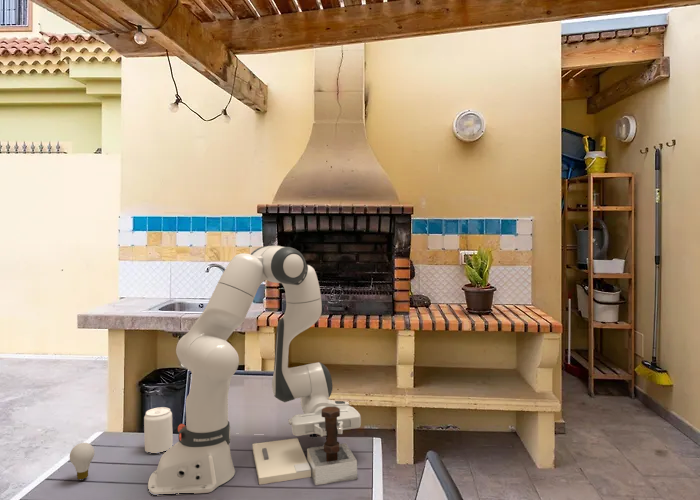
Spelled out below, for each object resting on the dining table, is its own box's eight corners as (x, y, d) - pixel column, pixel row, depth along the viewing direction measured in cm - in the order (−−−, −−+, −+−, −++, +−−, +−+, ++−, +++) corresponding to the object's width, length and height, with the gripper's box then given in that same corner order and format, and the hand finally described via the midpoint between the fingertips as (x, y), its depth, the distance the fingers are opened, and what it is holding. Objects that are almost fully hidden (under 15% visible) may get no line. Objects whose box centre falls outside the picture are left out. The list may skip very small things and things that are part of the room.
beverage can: (142, 456, 144) (142, 417, 144) (146, 445, 152) (145, 408, 152) (171, 453, 146) (170, 414, 146) (173, 442, 154) (173, 405, 154)
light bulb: (99, 477, 132) (98, 441, 132) (78, 487, 127) (77, 450, 126) (87, 472, 135) (86, 437, 135) (65, 481, 130) (64, 445, 129)
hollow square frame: (315, 485, 126) (315, 466, 126) (307, 465, 137) (307, 448, 137) (357, 478, 130) (357, 460, 129) (345, 459, 141) (345, 443, 140)
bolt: (341, 467, 131) (339, 412, 130) (322, 468, 130) (321, 413, 130) (341, 458, 136) (339, 405, 136) (323, 458, 136) (322, 406, 136)
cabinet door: (259, 484, 127) (259, 475, 127) (252, 449, 148) (252, 441, 148) (311, 476, 131) (310, 467, 131) (297, 443, 152) (297, 435, 152)
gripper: (287, 408, 143) (294, 426, 130) (352, 400, 148) (366, 417, 135) (287, 429, 143) (295, 449, 130) (353, 420, 149) (366, 439, 135)
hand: (332, 432), depth 132 cm, fingers closed on bolt, 3 cm apart
